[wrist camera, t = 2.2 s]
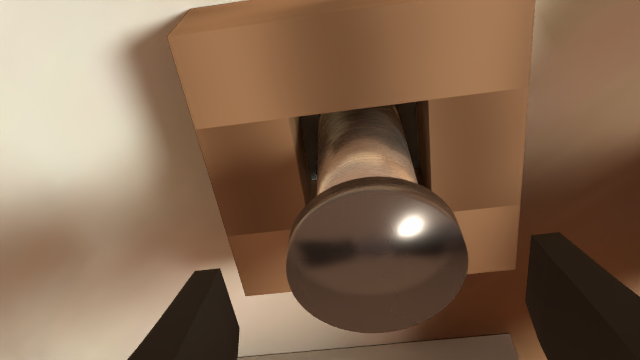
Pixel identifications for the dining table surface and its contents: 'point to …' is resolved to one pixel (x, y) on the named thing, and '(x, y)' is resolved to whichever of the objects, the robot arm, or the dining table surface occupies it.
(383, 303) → the pin
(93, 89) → the dining table surface
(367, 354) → the tray
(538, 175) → the dining table surface
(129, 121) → the dining table surface
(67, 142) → the dining table surface
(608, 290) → the robot arm
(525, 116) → the brown square frame
